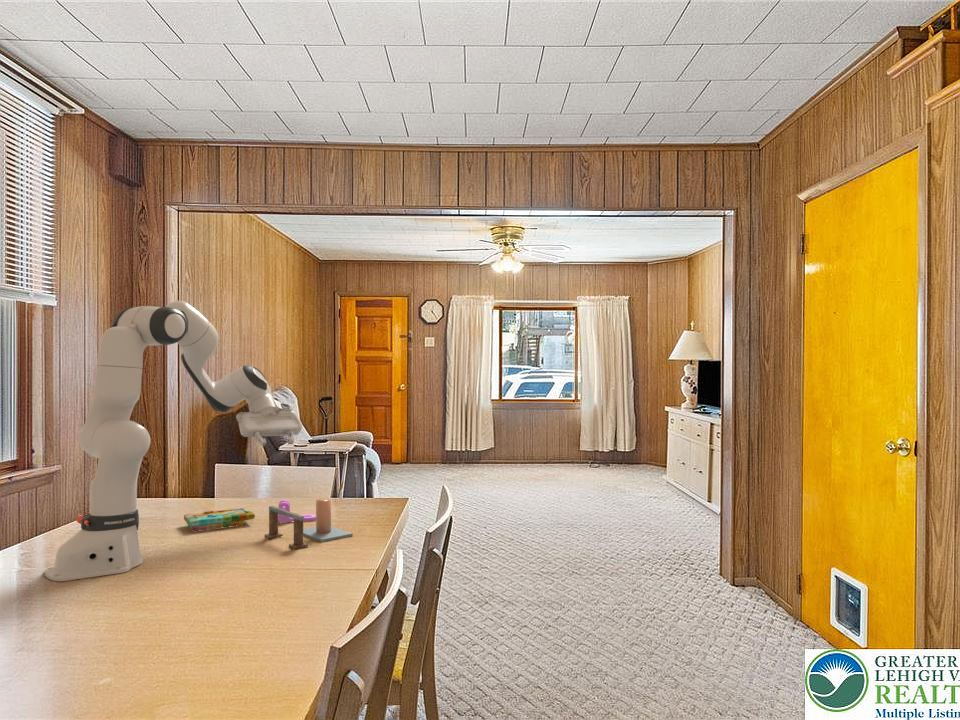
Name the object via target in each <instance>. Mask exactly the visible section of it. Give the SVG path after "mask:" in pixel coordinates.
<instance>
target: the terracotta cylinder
mask: <svg viewBox="0 0 960 720" xmlns="http://www.w3.org/2000/svg"><path fill="white" fill-rule="evenodd" d="M315 515H316V521H315V522H316V523H315V527H316V533H319V534H325V533H330V532H331V526H332V499H331V498H319V499H316V501H315Z"/></svg>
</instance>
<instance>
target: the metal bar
mask: <svg viewBox="0 0 960 720" xmlns="http://www.w3.org/2000/svg"><path fill="white" fill-rule="evenodd" d="M269 511H272V512H275V513H278V514H281V515H284V516H287V517H290V518H293V519H296V520H298V521H303V520H304V516H301V515H302V514H298V513H296V512H292V511H290V512H289V511H286V510H283V509H280V508H278V506H274V505H270V506H268V512H269Z"/></svg>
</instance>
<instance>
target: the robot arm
mask: <svg viewBox="0 0 960 720" xmlns="http://www.w3.org/2000/svg"><path fill="white" fill-rule="evenodd" d="M218 333H219V332H218V331H217V329H216V327H214V325H213V324H212V323H211V322H210V320H208V318H207V317H205V316H204V315H203V314H202V313H201V312H200V311H199V310H198V309H196V308H195V307H194V306H192V305H191V304H189V302H186V301H184V300H175V301H171V302H169V303H168V304H167V305H165V306H153V305H142V306H130V307H127V308H124V309H122V310H120V311H119V312H117V314H116V315H115V317H114V319H113V321H112V326H111V327H109V328H108V329H106V330H105V331H104V333H103V335H102V337H101V340H100V343H99V347H98V353H97V356H96V357H97V358H96V366H95V378H94V387H93V388H94V389H93V395H92V400H91V403H90V406H89V410H88V412H87V415H86V419H85V422H84V424H83V425H82V426H81V428H80V430H79V431H78V434H77V435H78V436H77V440H78V441H77V442H78V444H79V446H80V448H81V449H82V450H83V451H84V453H86V454H88V455H89V456H91V457H93V458H97V459H98V464H97V467H96V469H95V470H96V471H95V474H94V477H93V479H92V480H91V482H90V484H89V513H88V514H87V515H85V516H84V515H83V514H79V515H77V517H75V522H76V523H78V524H80V528H81V529H80V530H79V531H78V532H76V534H74V535H72V537H70V538H69V539H68V540H66V541H65V542H64V543H62V544H61V545H60V546H59V548H58V549H57V552H56V555H55V561H54V564H52V565H49V566H48V567H46V568H45V569H44V577H46V578H47V579H49V580H51V581H54V582H67V581H74V580H79V579H86V578H87V579H89V578H93V577H94V578H95V577H99V576H101V577H102V576H109V575H115V574H116V575H117V574H122V573H127V572H128V571H130V570H132V569H133V568H135V567H137V566H139V565H141V564H143V562H144V558H143V556H142V553H141V547H140V542H139V541H140V540H139V534H138V531H139V526H140V516H139V515H140V514H139V510H138V508H137V506H138V505H137V502H138V500H137V499H138V498H137V495H138V494H137V493H138V492H137V491H138V478H139V475H140V474H139V473H140V470H141V467H142V466H141V465H142V462H143V459H144V457H145V455H146V454H147V452H148V451H149V449H150V447H151V443H152V442H151V436H150V433H149V431H148V429H146V428H145V427H144V426H143V425H141V424H139V423H137V422H136V421H134V420H130V418H131V416H132V412H133V410H134V407H135V405H136V404H137V402H138V401H139V399H140V397H141V389H142V378H143V366H144V365H143V364H144V352H145V350H146V348H147V346H150V347H153V346H162V345H163V346H169V345H173V344H178V345H179V346H180V348H181V349H182V353H181V356H180V358H181V362H182V364H183V367H184V368H185V371H187V373H188V375H189V376H190V378H191V379H192V381H193V382H194V383H195V385H196V386H197V387H198V389H199V390H200V392H201V393H202V395H203V396H204V398H205V399H206V401H207V403H208V405H209V407H211V409H212V410H213V411H215V412H218V413H228V412H229V411H230V410H231V409H233V408H234V407H236V406H237V405H238V404H240V403H241V402H243V401H244V400H245V401H246V404H248V410H249V411H245V412H244V411H240V412H238V413H237V414H236V415H235V419H236V421H237V423H238V428H239V433H240V435H241V436H242V437H244V438H253V439H254V440H255V441H256V442H258V443H259V446H261V447H265V446H266V444H267V440H266V438H263V437H273V436H274V437H275V436H276V437H278V436H287V439H286V443H287V445H293V444H294V442H295V440H294V436H297V435H299V433H300V432H301V430H302V428H303V425H302V422H301V420H300V418H299V416H298V415H297V413H296V412H295V411H293V410H294V408H293V407H294V406H292V405H291V404H289V403H285V402H281V401H278V400H276V399H275V398H274V396H273V395H272V390H271V387H270V385H269V383H268V381H267V379H266V378H265V377H266V376H265V375H264V374H263V372H261V370H260V369H258V368H257V367H254V366H252V365H246V364H245V365H243V366H240V367H238V368H237V369H235V370H233V371H232V372H231V373H229V374H227V375H226V376H224V377H223V378H221V379H219V380H216V381H212V379H211V378H210V376H209V375H208V374H207V371H205V369H204V368H205V367H204V366H205V365H206V363H207V362H208V360H209V359H210V358H211V357H212V356H213V355H214V353H215V352H216V350H217V348H218V345H219V339H220V337H219V334H218Z"/></svg>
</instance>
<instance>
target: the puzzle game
mask: <svg viewBox="0 0 960 720" xmlns="http://www.w3.org/2000/svg"><path fill="white" fill-rule="evenodd" d="M255 517H256V515H255V513H254V512H252V511H250V510H249V509H248V508H245V507H243V508H233V509H223V510H205V511H203V512H194V513H185V514H184V515H183V520H184V521H185V523H186V524H187V526H188V528H190V529H191V531H192V532H194V531H197V532H200V531H199V530H205V531H208V530H207V529H212V530H216V529H215V528H220V529H222V528H221V527H228V528H230V527H229V526H236V525H242V526H243V525H244V524H245V523H244V522H245V521H250V520H254V519H255ZM236 527H237V526H236Z"/></svg>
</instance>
